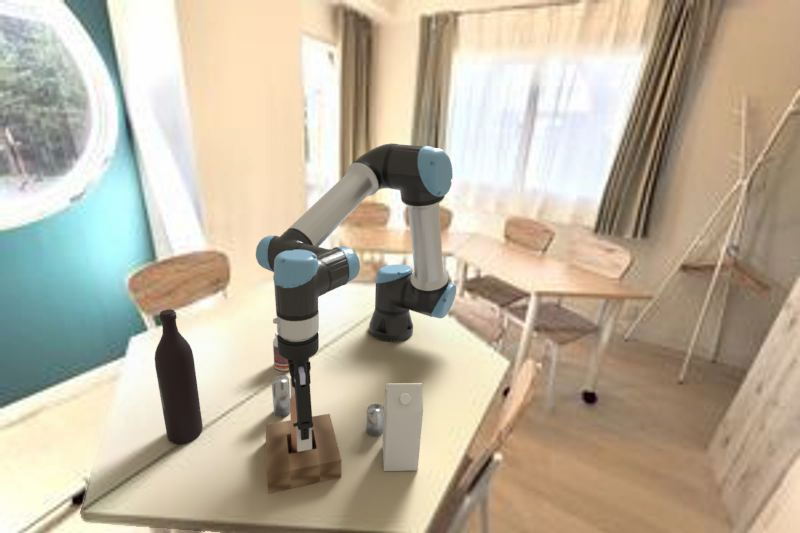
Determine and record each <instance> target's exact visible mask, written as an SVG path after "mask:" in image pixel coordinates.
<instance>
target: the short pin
mask: <svg viewBox="0 0 800 533" xmlns="http://www.w3.org/2000/svg"><path fill="white" fill-rule="evenodd" d="M365 420H366V423H365V425H366V426H365V432H366V435H368V436H370V437H371V438H375V437H380V436H383V422H384V406H383V405H382V404H381V403H372V404H371V403H370V404H369V405H368V406H367V408H366V419H365Z"/></svg>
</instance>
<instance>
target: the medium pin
mask: <svg viewBox="0 0 800 533" xmlns="http://www.w3.org/2000/svg"><path fill="white" fill-rule="evenodd" d="M271 391H272V392H271V393H272V404H273V405H272V406H273V414H274V416H276V417H277V418H285V417H287V416H290V398H291V385H290V377H288V376H287V375H283V374H281V375H276V376H274V377H272V379H271Z"/></svg>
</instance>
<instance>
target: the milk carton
mask: <svg viewBox="0 0 800 533" xmlns="http://www.w3.org/2000/svg"><path fill="white" fill-rule="evenodd" d="M383 403H384V406H383V407H384V422H383V433H382V442H381V443H382V445H381V446H382V461H383V462H382V464H383V471H384V472H408V471H418V470H419V463H420V462H419V460H420V449H421V448H420V447H421V439H422V438H421V437H422V430H423V429H422V428H423V416H424V402H423V383H422V382H417V383H416V382H412V383H411V382H408V383H407V382H403V383H402V382H401V383H399V382H397V383H395V382H393V383H390V382H389V383H388V382H387V383H386V388H385V389H384V402H383Z"/></svg>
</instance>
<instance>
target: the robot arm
mask: <svg viewBox="0 0 800 533" xmlns="http://www.w3.org/2000/svg"><path fill="white" fill-rule="evenodd" d="M449 156H450V155H449V154H448V153H447V152H446V151H445V150H444V149H441V148H440V147H439V148H437V147H432V146H430V145H425V146H421V145H412V144H411V145H409V144H399V143H386V144H385V143H384V144H381V145H379V146H376V147H374V148H372V149H370V150H368V151H367V152H365V153H363V154H362V155H360V156H359V157H358V158H356V159H355V160H354V161H353V162H352V163H350V165H349V166H348V167H347V169H346V173H345V175H344V176H342V178H341V179H339V180H338V181H337V182H336V183H335V184H334V185H333V186H332V187H331V188H330V189H328V191H326V193H324V194H323V195H322V196H321V197H320V198H319V199H318V200H316V202H315V203H313V204H312V205H311V207H310V208H309V209H308V210H306V211H305V213H303V214H302V215H301V216H300V217H299V218H298V219H297V220H295V222H293V224H291V225H290V226H289V227H288V228H287V229H286V230H285V231H284V232H283V233H282V234H281V235H280V236H279V235H267V236H265V237H263V238H262V239H260V241H259V242H258V244H257V245H256V249H255V259H256V262H257V264H258V265H259V266H260V267H261V268H263V269H265V270H268V271H270V272H272V273H273V275H272V276H273V278H272V279H273V286H274V299H275V313H276V314H275V315H276V317H275V318H273V319H272V323H273V324H276V330H277V333H278V336H277V342H278V353H279V354H280V356H282V357H283V358H285V359H288V365H289V370H288V372H289V376H290V377H289V386H290V398H291V397H292V396H293V395H295V399H296V412H297V421H296V423H293V427H296V432H297V452H300V451H305V450H310V449H311V450H312V449H313V446H312V428H313V422H312V417H313V412H312V410H313V409H312V396H311V386H310V385H311V368H312V367H311V361H310V358H312V357H313V356H315V355H316V354H317V353H318V352H319V345H320V344H319V329H320V328H319V326H320V324H319V322H320V321H319V320H320V318H319V317H320V316H319V298H320V297H322V296H323V295H325V294H328V293H329V292H331V291H333V290H335V289H338V288H340V287H342V286H346V285H348V283H349V282H351V281H353V280H354V279H355V278H357V276H358V275H359V273H360V270H361V265H360V264H361V263H360V259H359V257H358V254H357V253H356V252H355V250H353V248H351V247H349V246H345V245H342V246H335V247H333V248H324V247H321V245H322V244H323V243H324V242H325V241H326V240H327V238H329V237H330V236H331V234H332V233H333V232H334V231H335V230H336V229H337V228H339V226H340V225H342V223H343V222H344V221H345V220H346V219H347V218H348V217H349V216H350V215H351V213H353V211H355V209H356V208H358V206H360V204H361V203H362V202H363V201H364V200H365V199H366V198H367V197H370V196H371V197H372V196H373V195H375V194H376V193H377V192H378V191H379V190H383V189H391V190H394V191H395V190H397V191H400V192H399V193H400V200H401V202H402V203H403V204H404V205H405V206H407V212H408V224H409V231H410V241H411V250H412V251H411V252H412V260H413V268H412V267H411V265H410V266H409V265H406V264H389V265H386V266H382V267H381V268H379V269H378V270H377V272H376V277H375V298H374V301H375V302H374V311H373V314H372V316H371V319H370V321H369V325H368V332H369V334H370V336H372V337H373V338H375V339H378V340H381V341H384V342H401V341H405V340H407V339H409V338H410V337H412V335H413V333H414V323H413V320H412V316H411V313H410V311H412V312H415V313H418V314H421V315H423V316H428V317H430V318H434V319H435V318H436V319H443V318H445V317H446V316H447V315H448V314H449V312H450V310H451V309H452V306H453V305H454V300H455V298H456V296H457V295H456V293H457V286H456V284H455V283H453V282H449V274H448V273H447V271H446V270H445V269H444V266H443V265H444V264H443V263H444V262H443V249H442V248H443V246H442V244H443V243H442V228H441V227H442V226H441V225H442V224H441V210H440V203H441V202H443V200H444V198H445V197H446V195H447V194H448V193H449V191H450V189H451V187H452V180H453V166H452V162H451V158H450V157H449ZM413 269H414V271H413Z"/></svg>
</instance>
